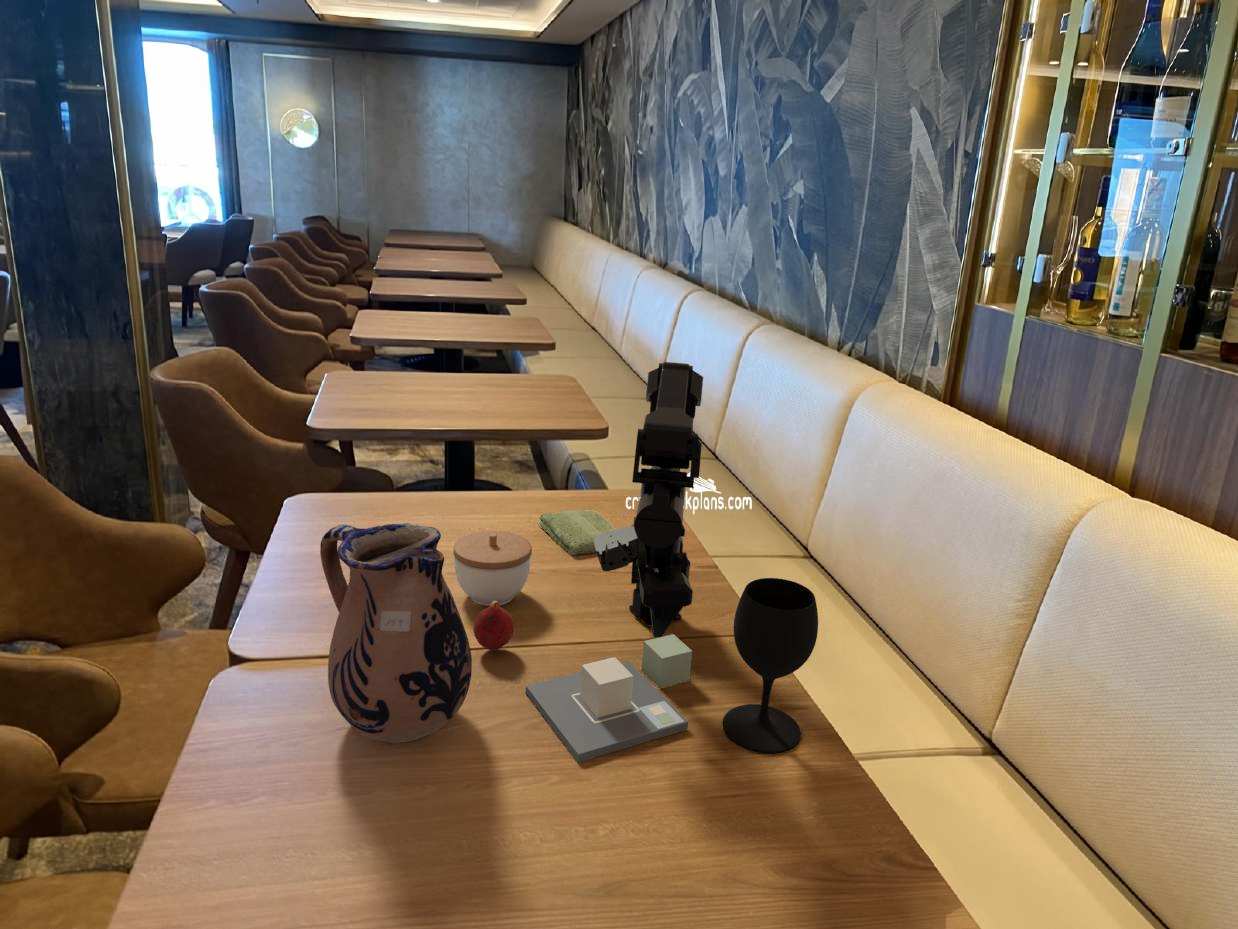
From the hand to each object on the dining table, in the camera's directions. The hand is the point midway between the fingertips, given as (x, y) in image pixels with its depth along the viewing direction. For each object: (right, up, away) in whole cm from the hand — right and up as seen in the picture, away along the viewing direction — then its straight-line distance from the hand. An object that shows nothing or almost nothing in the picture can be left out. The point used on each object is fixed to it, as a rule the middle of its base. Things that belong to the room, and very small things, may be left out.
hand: (652, 618), depth 120 cm
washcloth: (-12, +7, +51) cm, 53 cm away
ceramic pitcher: (-34, -12, -7) cm, 37 cm away
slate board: (-6, -12, -3) cm, 14 cm away
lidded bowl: (-26, -1, +25) cm, 36 cm away
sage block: (+2, -9, +6) cm, 11 cm away
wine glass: (+14, -14, -5) cm, 20 cm away
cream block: (-6, -11, -3) cm, 13 cm away
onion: (-23, -7, +9) cm, 26 cm away
